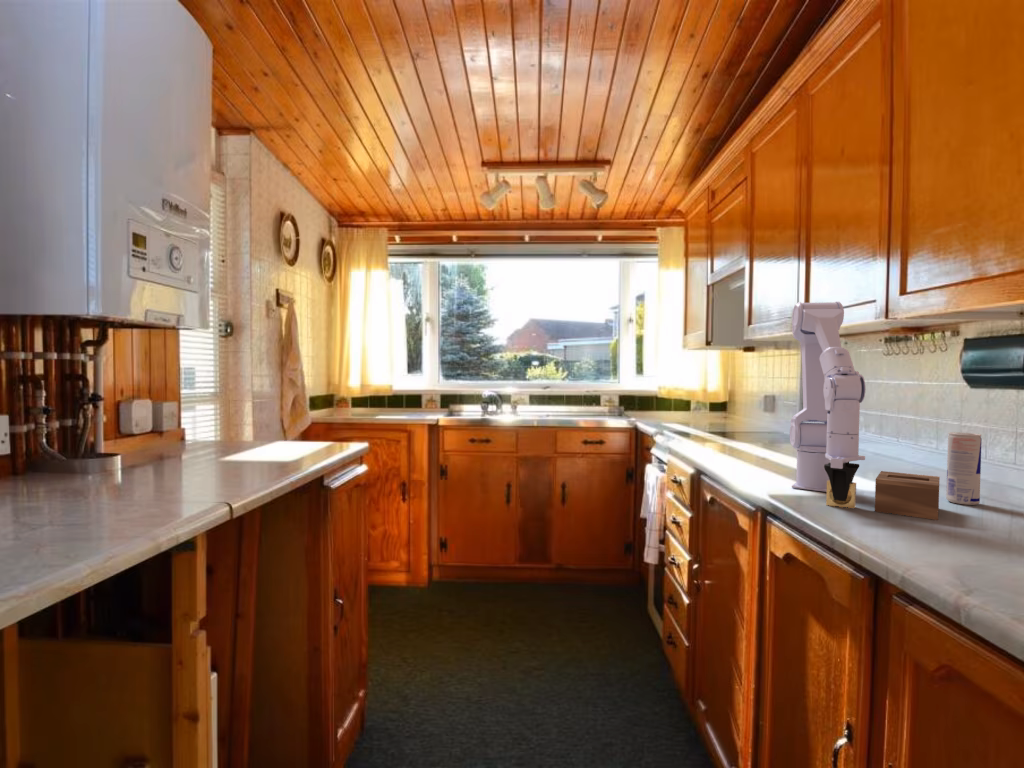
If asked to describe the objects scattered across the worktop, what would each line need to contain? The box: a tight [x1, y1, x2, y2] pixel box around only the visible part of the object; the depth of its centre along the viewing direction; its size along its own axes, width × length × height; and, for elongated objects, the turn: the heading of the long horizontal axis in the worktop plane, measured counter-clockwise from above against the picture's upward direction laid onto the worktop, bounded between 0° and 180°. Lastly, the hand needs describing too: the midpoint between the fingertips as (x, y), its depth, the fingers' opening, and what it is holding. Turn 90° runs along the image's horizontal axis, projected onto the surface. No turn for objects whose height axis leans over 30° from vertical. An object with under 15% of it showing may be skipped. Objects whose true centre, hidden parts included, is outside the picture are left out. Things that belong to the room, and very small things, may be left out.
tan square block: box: [825, 480, 857, 509], centre depth 117 cm, size 2×5×5 cm, turn 53°
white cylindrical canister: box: [945, 431, 982, 506], centre depth 122 cm, size 6×6×15 cm
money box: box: [874, 470, 941, 521], centre depth 114 cm, size 12×10×6 cm
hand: (841, 499), depth 117 cm, fingers closed on tan square block, 2 cm apart
